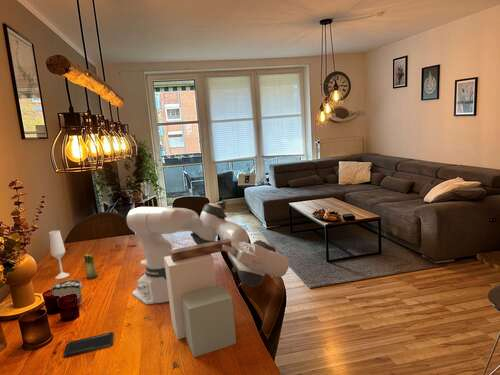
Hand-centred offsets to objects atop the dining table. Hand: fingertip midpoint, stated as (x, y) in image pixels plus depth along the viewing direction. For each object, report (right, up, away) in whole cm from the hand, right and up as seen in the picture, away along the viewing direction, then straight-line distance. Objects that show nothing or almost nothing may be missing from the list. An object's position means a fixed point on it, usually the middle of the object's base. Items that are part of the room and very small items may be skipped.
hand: (219, 244), depth 124 cm
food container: (-65, -30, +25) cm, 76 cm away
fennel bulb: (-69, -25, +52) cm, 90 cm away
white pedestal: (-9, -29, 0) cm, 30 cm away
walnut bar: (-6, -3, -2) cm, 7 cm away
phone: (-43, -34, -6) cm, 55 cm away
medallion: (-36, -20, +71) cm, 82 cm away
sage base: (-2, -30, -10) cm, 32 cm away
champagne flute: (-87, -26, +57) cm, 107 cm away
